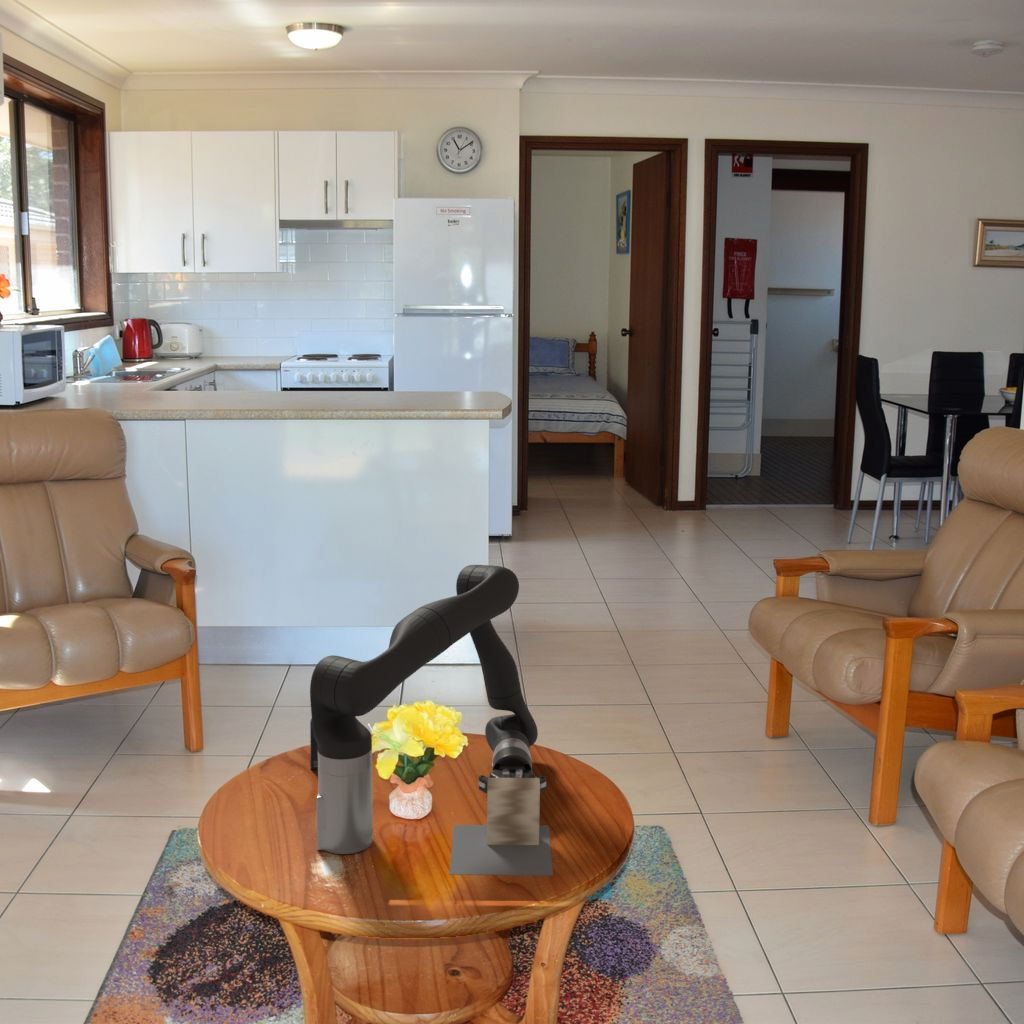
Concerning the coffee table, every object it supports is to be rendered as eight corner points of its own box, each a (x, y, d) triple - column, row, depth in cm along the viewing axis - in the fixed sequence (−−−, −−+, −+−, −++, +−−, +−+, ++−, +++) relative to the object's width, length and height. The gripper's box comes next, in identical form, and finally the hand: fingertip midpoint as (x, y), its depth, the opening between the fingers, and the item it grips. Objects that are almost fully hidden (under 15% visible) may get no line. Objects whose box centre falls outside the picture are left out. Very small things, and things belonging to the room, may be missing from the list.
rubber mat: (449, 877, 191) (449, 874, 191) (454, 827, 209) (454, 824, 209) (552, 878, 191) (552, 875, 191) (548, 828, 209) (548, 825, 209)
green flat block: (486, 844, 201) (487, 785, 199) (487, 836, 204) (487, 777, 202) (538, 845, 201) (540, 785, 199) (538, 836, 205) (539, 777, 202)
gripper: (477, 745, 221) (475, 783, 204) (547, 746, 221) (550, 784, 204) (477, 782, 222) (475, 823, 205) (546, 783, 222) (550, 824, 205)
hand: (512, 803), depth 205 cm, fingers closed
